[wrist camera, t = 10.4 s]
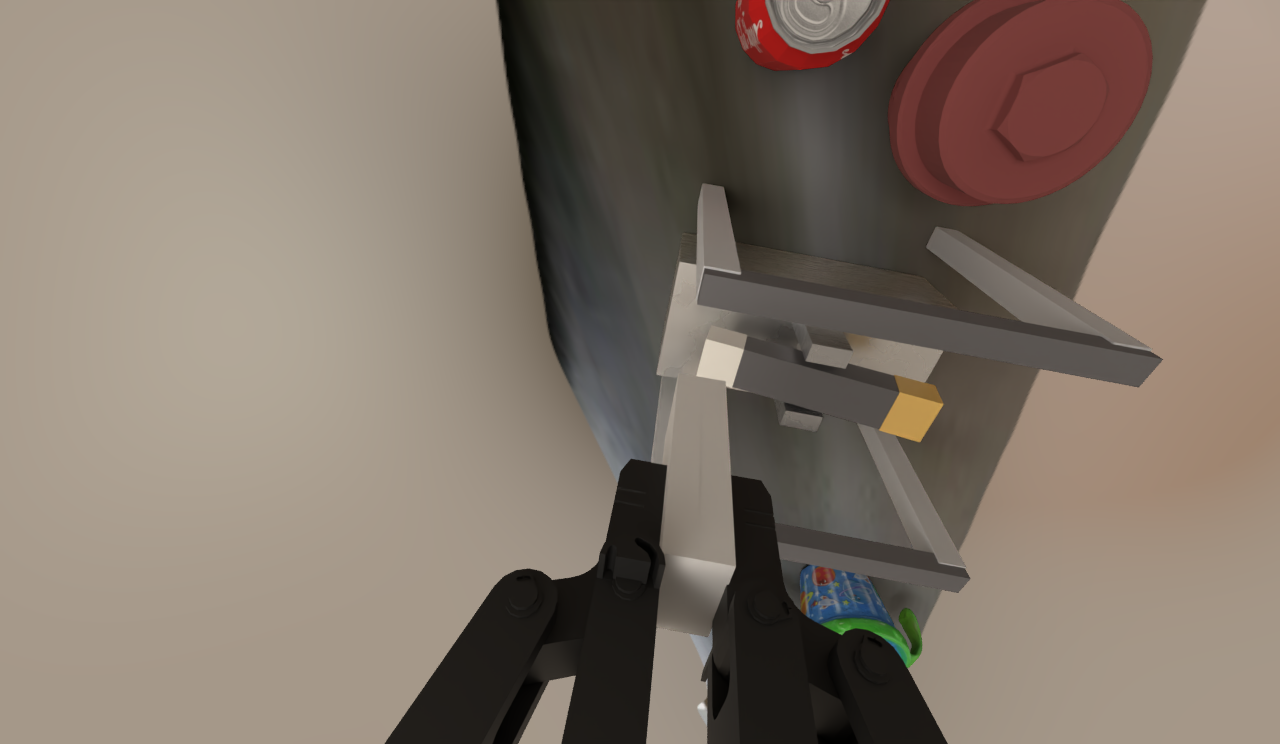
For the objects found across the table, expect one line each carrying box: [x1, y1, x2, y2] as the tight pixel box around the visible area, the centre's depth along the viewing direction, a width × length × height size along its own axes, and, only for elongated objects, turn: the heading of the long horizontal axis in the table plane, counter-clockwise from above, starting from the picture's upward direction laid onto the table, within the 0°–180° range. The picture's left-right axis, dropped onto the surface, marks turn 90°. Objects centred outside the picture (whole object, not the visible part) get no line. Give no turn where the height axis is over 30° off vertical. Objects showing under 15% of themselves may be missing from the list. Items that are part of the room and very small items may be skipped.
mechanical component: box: [888, 0, 1153, 206], centre depth 26 cm, size 12×10×10 cm
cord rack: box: [651, 183, 1163, 593], centre depth 32 cm, size 17×19×19 cm
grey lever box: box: [656, 232, 958, 432], centre depth 35 cm, size 9×19×12 cm, turn 81°
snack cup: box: [800, 565, 922, 668], centre depth 53 cm, size 16×10×10 cm
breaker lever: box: [696, 325, 943, 442], centre depth 30 cm, size 3×14×2 cm, turn 81°
